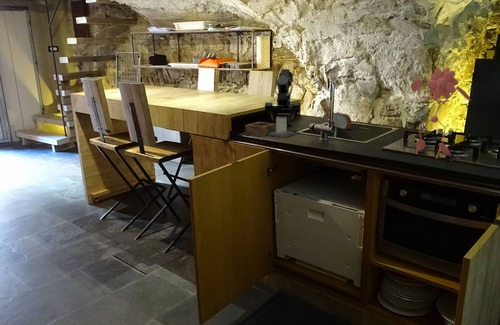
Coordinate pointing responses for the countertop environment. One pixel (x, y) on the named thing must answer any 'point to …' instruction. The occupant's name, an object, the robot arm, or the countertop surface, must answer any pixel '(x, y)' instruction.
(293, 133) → the rubber pad
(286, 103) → the robot arm
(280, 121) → the steel peg
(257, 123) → the brown square tray
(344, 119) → the tin
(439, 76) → the figurine
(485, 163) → the countertop surface
